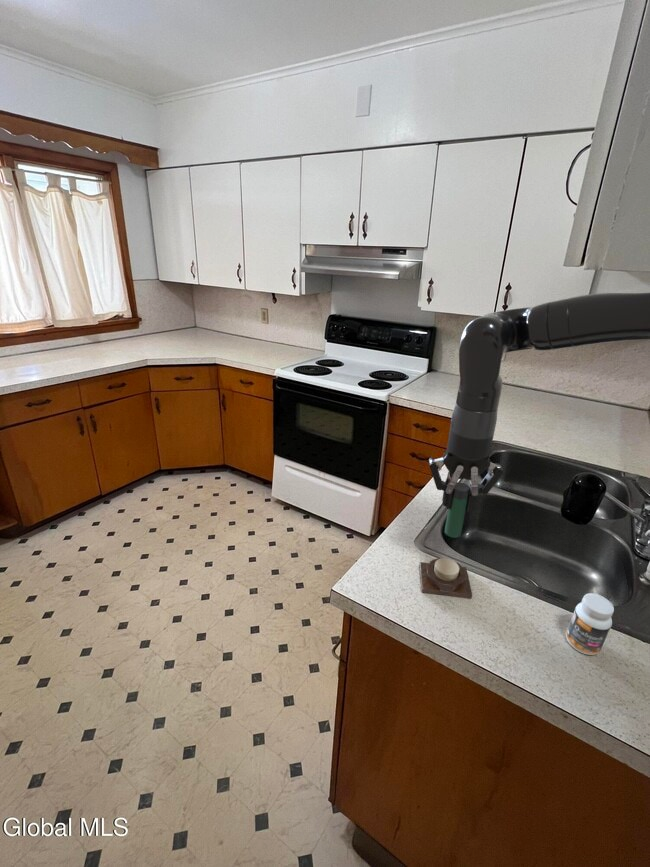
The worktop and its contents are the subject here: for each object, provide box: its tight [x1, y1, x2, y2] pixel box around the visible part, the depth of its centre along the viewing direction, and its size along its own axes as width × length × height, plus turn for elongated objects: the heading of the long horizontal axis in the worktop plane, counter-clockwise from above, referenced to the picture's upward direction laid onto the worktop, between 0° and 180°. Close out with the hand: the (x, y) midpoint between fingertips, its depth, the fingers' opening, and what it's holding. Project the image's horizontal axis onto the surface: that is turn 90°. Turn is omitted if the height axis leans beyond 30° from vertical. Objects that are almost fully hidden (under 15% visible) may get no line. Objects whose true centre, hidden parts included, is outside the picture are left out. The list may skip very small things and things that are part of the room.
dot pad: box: [434, 557, 459, 581], centre depth 89 cm, size 5×5×2 cm
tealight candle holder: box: [419, 557, 473, 600], centre depth 90 cm, size 10×8×3 cm
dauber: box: [444, 481, 470, 539], centre depth 84 cm, size 3×3×11 cm
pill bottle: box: [565, 592, 615, 656], centre depth 76 cm, size 6×6×10 cm
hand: (457, 507), depth 83 cm, fingers closed on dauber, 3 cm apart
